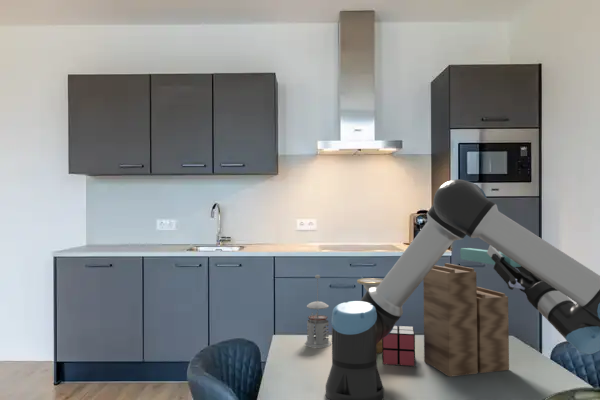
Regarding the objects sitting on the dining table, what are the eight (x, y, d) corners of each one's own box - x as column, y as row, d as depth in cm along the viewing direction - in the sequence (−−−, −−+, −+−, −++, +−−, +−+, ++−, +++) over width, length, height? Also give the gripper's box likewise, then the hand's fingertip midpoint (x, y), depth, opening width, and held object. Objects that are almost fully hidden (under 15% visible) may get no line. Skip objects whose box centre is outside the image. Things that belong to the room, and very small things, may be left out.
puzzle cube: (415, 366, 142) (414, 334, 143) (382, 364, 144) (382, 332, 145) (413, 356, 152) (413, 326, 152) (383, 355, 154) (382, 325, 154)
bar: (521, 266, 130) (520, 254, 130) (510, 267, 129) (510, 254, 129) (469, 258, 153) (469, 248, 153) (460, 259, 152) (460, 248, 152)
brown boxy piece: (449, 376, 134) (448, 269, 134) (424, 361, 147) (423, 264, 148) (509, 369, 139) (507, 267, 140) (479, 355, 153) (478, 262, 153)
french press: (334, 341, 170) (333, 273, 171) (326, 350, 159) (326, 277, 160) (308, 339, 173) (308, 272, 174) (299, 347, 162) (299, 276, 163)
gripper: (516, 314, 117) (467, 260, 137) (569, 309, 122) (514, 258, 142) (527, 291, 114) (474, 239, 134) (581, 287, 118) (522, 237, 138)
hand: (495, 248), depth 138 cm, fingers closed on bar, 3 cm apart
